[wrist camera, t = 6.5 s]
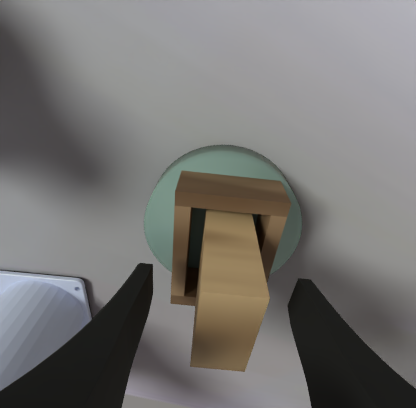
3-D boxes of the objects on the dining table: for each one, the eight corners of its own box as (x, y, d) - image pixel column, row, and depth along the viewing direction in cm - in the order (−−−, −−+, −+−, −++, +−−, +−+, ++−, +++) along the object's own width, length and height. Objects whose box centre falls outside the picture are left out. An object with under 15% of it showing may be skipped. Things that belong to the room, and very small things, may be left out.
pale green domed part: (274, 269, 21) (280, 293, 19) (153, 257, 21) (145, 280, 19) (310, 153, 16) (324, 169, 14) (151, 136, 16) (141, 149, 14)
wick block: (235, 263, 18) (244, 371, 12) (199, 259, 18) (190, 366, 12) (249, 201, 15) (269, 298, 9) (207, 196, 15) (200, 291, 9)
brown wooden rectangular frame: (253, 281, 19) (258, 311, 17) (176, 274, 19) (170, 303, 16) (280, 180, 15) (291, 203, 12) (181, 170, 14) (175, 191, 12)
